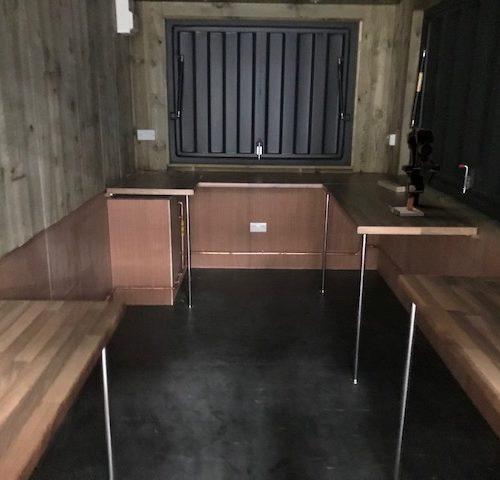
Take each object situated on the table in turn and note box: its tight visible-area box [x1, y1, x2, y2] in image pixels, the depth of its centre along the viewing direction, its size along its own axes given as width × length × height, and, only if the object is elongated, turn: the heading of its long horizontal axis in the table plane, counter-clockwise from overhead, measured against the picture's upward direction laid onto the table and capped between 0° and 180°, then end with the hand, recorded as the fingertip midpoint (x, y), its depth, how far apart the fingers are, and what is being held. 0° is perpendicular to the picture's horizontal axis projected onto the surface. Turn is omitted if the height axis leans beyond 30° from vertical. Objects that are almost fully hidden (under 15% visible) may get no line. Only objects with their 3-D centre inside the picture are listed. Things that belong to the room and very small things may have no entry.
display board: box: [387, 205, 425, 217], centre depth 256 cm, size 15×13×2 cm
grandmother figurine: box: [406, 185, 416, 211], centre depth 254 cm, size 8×4×13 cm, turn 1°
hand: (419, 184), depth 262 cm, fingers open, 9 cm apart
